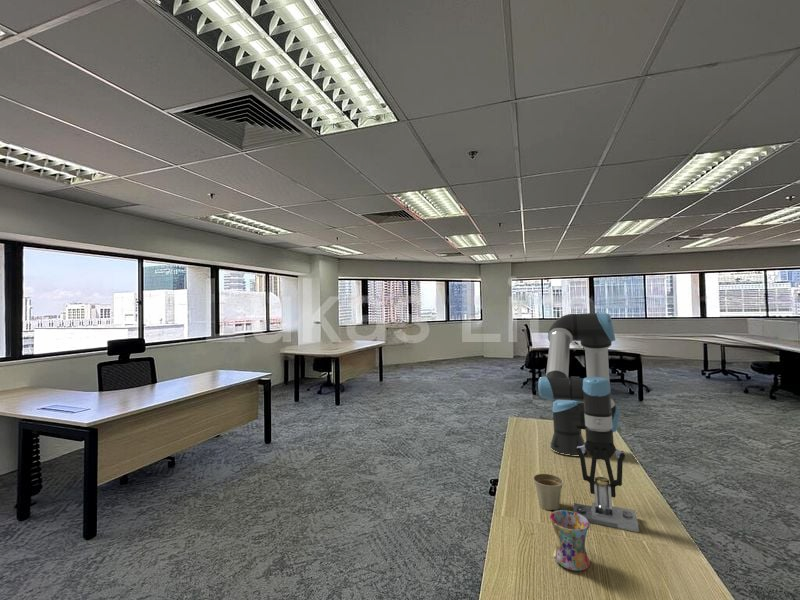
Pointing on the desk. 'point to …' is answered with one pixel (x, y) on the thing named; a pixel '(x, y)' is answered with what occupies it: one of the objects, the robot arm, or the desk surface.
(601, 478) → the pin
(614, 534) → the desk surface
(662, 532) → the desk surface
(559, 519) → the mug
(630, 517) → the grey slotted base plate
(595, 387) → the robot arm
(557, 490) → the flower pot
